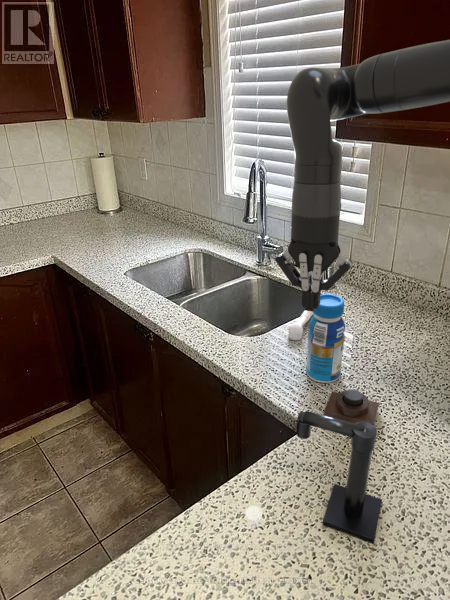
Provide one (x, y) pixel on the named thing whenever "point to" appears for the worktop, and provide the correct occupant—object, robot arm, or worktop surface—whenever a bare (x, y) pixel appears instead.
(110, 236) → the worktop surface
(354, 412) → the brown button base
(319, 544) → the worktop surface
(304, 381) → the worktop surface
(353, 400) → the pump button
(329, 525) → the tap body
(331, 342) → the beverage bottle
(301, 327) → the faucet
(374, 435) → the spout
